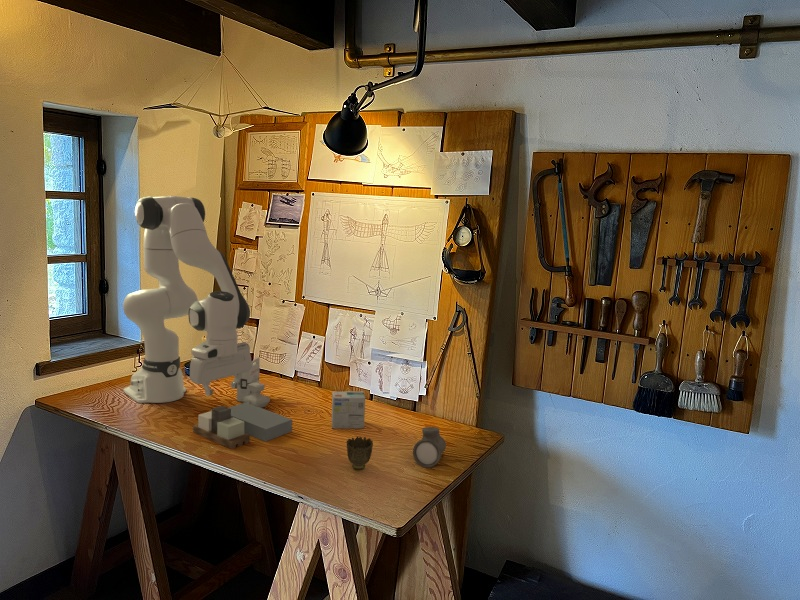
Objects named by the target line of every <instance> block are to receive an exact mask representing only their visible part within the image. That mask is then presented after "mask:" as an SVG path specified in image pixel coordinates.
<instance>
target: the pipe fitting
mask: <svg viewBox="0 0 800 600" xmlns="http://www.w3.org/2000/svg"><path fill="white" fill-rule="evenodd" d="M421 432H422V433H421V434H422V439H420V440H418V441H417V442H416V443H415V444H414V447H413V449H412V456H413V459H414V460H415V463H417V464H418V465H419V466H420V467H422V468H427V469H428V468H433V467H435V466H436V465H437V464H438V463H439V462H440V460H441V458H442V454H443V453H444V452H445V450H446V447H447V443H446V439H444V437H442V436H441V433H440V428H439V427H435V426H425V427H422V428H421Z"/></svg>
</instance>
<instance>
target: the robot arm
mask: <svg viewBox="0 0 800 600" xmlns="http://www.w3.org/2000/svg"><path fill="white" fill-rule="evenodd" d="M204 205H205V204H203V202H202V200H201V199H199V198H195V197H191V196H188V197H186V196H179V195H178V196H177V195H168V196H167V195H166V196H165V195H164V196H162V195H161V196H144V197H141V198H139V199H138V201H137V202H136V203H135V208H134V217H135V221H136V223H137V225H139V226H140V227H141V228H142V229H144V233H143V269H144V271H145V273H147V275H149V276H150V277H152V278H155V279H156V280H157V281H158V284H159V285H158V286H159V287H157V288H156V287H155V288H145V289H140V290H137V291H133V292H131V293H128V294H127V295H126V296H125V297H124V299H123V304H122V310H123V313H124V315H125V317H126V318H127V319H128V320H129V321H131V322H132V323H133V324H135V325H136V326H137V327H138V328H139V330H140V331H141V333H142V336H143V343H144V357H142V358H140V359H141V362H142V365H141V368H139V370H137V371H136V372H134V373H133V374H132V375H131V376H130V377H131V378H130V385H129V386H126V387H124V388H123V393H125V394H126V395H128V396H129V397H130V398H131V399H132V400H134V401H135V402H136V403H138V404H139V403H140V404H143V403H144V404H146V403H152V404H153V403H154V404H155V403H157V404H159V403H161V404H162V403H172V402H174V401H177V400H180V399H182V398H183V397H184V395H185V393H186V391H187V388H186V387H185V386H184V377H183V370H182V369H181V357H180V352H179V349H180V345H179V343H180V342H179V341H180V340H179V336H178V334H177V333H176V332H174V331H173V330H171V329H169V328H167V327H166V326H165V320H168V319H169V320H171V319H175V318H176V319H177V318H178V319H179V318H183V317H186V316H188V321H189V322H188V323H189V324H190V326H191V327H192V328H193V329H195V330H197V331H200V332H207V333H206V339H205V340H204V341H203V342H201V343H200V344H198V345H196V346H195V347H193V348H192V349H191V356H193V357H192V358H191V359H190V360H191V361H190V363H189V364H190V365H189V379H190V381H191V382H192V383H193V384H196V385H202V387H203V389H204V395H205V396H206V397H209V396H213V395H214V389H212V388H210V385H211V382H214V381H217V380H222V379H224V378H229V377H234V378H233V380H232V381H231V382H230V388H231V389H233V390H236V389H237V388H238V382H239V381H240V379H241V377H242V373H245V372H249V371H250V370H251V368H252V363H251V362H252V357H251V356H252V355H251V345H250V344H249V343H247V342H246V341H245V342H244V341H243V342H239V343H238V333H237V330H238V329H239V330H240V329H242V328H243V327H244V326H246V324H247V323H248V321H249V320H250V317H251V309H250V306H249V303H248V302H247V301H246V299H245V297H244V296H243V294H242V292H241V289H240V287H239V285H238V284H237V281H236V279H235V276H234V274H233V272H232V270H231V268H230V264H229V263H228V261H227V259H226V258H225V257H226V256H225V255H224V254H223V252H221V251H220V250H218V249H217V248H216V247H215V246H214V245H213V243H212V242H211V240H210V238H209V235H208V233H207V230H206V225H205V223H204V222H205V220H206V209H205V206H204ZM179 261H180V262H182V263H183V264H186V265H188V266H190V267H195V268H197V269H201V270H203V271H206V272H208V273H210V274H211V275H212V276H214V278H215V280H216V282H217V284H218V287H219V288H220V290H216V291H212V292H210V293H209V294H208V295H207V297H205V298H202V299H198V295H197V293H196V292H195V291H194V289H192V288H191V287H190V286H189V285H187V283H185V281H184V279H183V277H182V275H181V270H180V264H179V263H180V262H179Z"/></svg>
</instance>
